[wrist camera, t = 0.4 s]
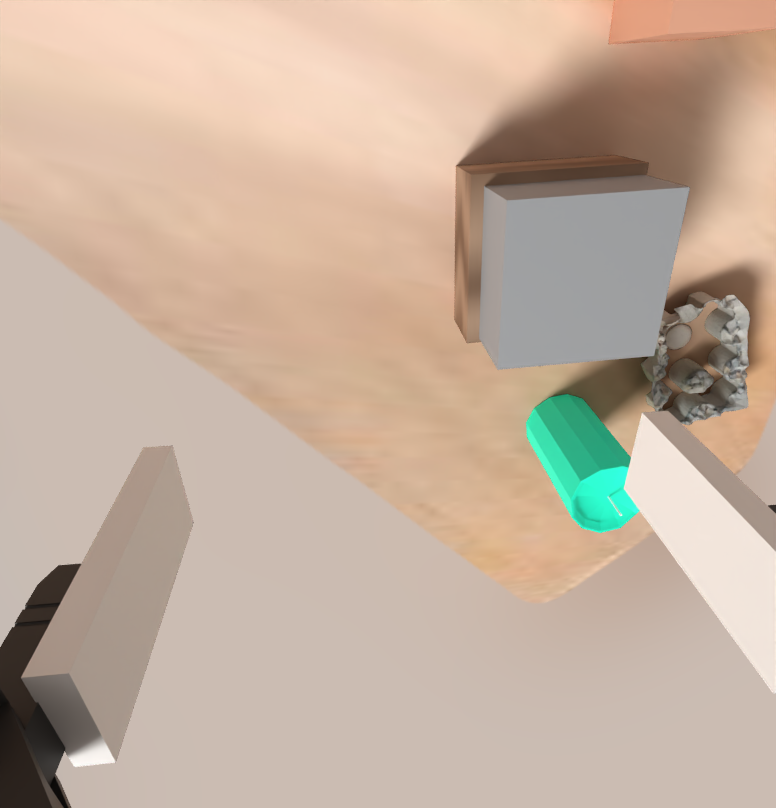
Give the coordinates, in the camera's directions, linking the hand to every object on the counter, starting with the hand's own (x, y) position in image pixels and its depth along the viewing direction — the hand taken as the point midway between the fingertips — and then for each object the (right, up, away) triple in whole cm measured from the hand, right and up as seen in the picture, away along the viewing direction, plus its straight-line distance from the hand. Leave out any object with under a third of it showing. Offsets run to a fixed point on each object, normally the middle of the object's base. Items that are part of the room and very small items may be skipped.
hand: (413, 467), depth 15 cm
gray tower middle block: (+10, +11, +20) cm, 25 cm away
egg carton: (+24, +6, +30) cm, 39 cm away
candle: (+14, 0, +33) cm, 36 cm away
